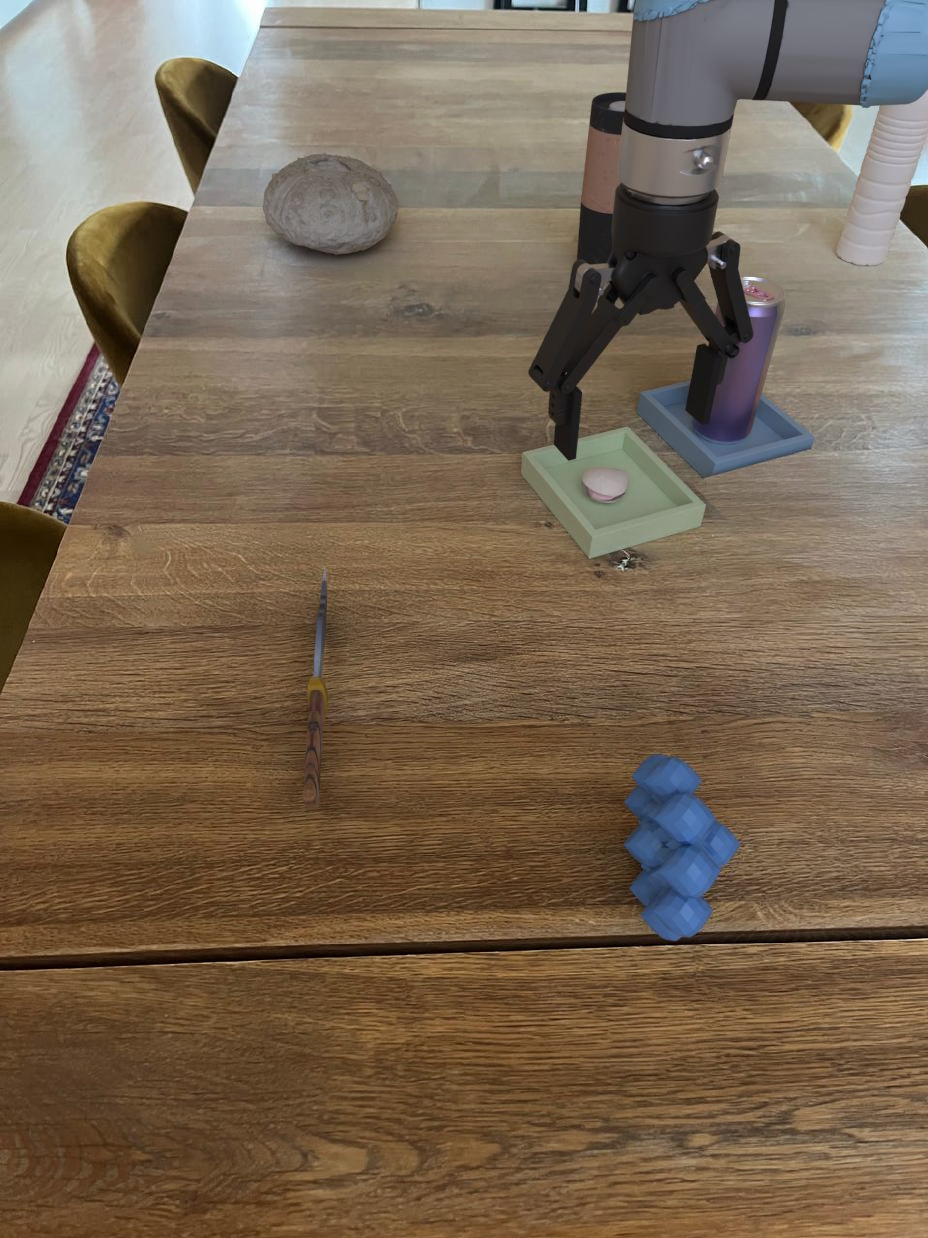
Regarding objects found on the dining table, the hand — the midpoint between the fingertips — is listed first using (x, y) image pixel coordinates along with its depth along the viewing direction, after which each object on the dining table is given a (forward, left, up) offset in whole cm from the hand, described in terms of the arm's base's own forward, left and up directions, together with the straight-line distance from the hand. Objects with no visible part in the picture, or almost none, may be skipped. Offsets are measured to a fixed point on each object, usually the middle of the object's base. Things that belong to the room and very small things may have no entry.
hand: (632, 434), depth 83 cm
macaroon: (+1, +1, -7) cm, 7 cm away
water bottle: (+33, -56, -7) cm, 66 cm away
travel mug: (+43, -23, -7) cm, 49 cm away
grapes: (-37, +18, -7) cm, 42 cm away
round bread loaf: (+64, +7, -7) cm, 65 cm away
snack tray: (0, +1, -7) cm, 7 cm away
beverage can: (+5, -15, -7) cm, 17 cm away
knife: (-13, +33, -7) cm, 36 cm away
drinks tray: (+5, -15, -7) cm, 17 cm away
